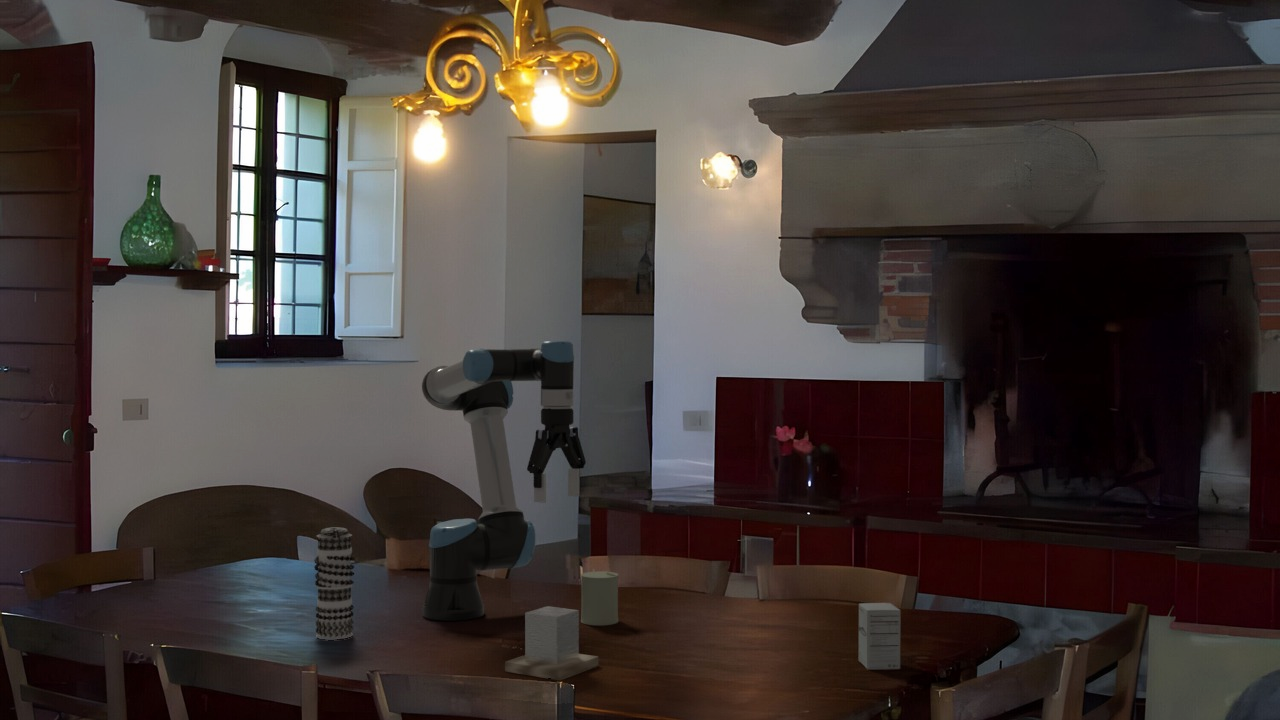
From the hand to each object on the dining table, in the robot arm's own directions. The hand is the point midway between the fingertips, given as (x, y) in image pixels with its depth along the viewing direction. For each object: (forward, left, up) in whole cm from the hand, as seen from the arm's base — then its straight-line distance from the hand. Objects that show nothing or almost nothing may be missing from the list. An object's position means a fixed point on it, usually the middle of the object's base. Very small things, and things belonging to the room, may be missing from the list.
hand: (557, 499), depth 310 cm
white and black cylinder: (-43, -28, -32) cm, 60 cm away
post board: (+17, -26, -32) cm, 44 cm away
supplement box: (+74, +13, -32) cm, 82 cm away
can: (0, +18, -32) cm, 37 cm away
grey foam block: (+17, -26, -30) cm, 43 cm away
